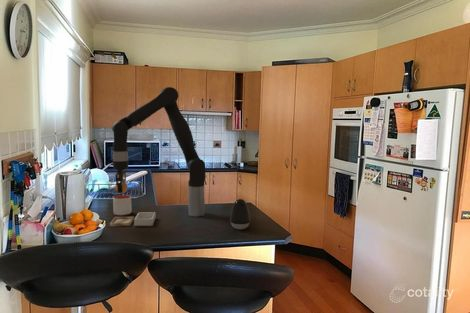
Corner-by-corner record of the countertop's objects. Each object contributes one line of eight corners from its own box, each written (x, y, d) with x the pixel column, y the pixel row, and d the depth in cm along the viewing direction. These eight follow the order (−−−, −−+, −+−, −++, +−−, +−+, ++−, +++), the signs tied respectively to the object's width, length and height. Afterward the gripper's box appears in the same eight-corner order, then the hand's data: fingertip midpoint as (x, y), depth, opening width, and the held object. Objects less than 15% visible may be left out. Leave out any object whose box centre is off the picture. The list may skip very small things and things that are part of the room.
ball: (128, 192, 178) (128, 181, 177) (126, 194, 172) (125, 183, 172) (116, 192, 177) (116, 181, 177) (114, 194, 171) (113, 183, 171)
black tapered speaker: (233, 232, 163) (233, 201, 161) (227, 225, 173) (228, 197, 171) (252, 230, 166) (253, 200, 164) (246, 224, 176) (246, 196, 174)
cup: (126, 216, 188) (125, 199, 187) (110, 215, 190) (109, 198, 189) (134, 212, 198) (134, 195, 197) (119, 211, 200) (119, 194, 199)
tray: (133, 219, 183) (133, 216, 183) (129, 225, 171) (129, 223, 171) (115, 219, 182) (115, 217, 182) (109, 226, 170) (109, 223, 170)
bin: (155, 218, 185) (155, 212, 185) (152, 225, 172) (152, 219, 171) (138, 218, 184) (138, 212, 184) (134, 226, 171) (134, 219, 170)
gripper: (125, 161, 166) (125, 194, 168) (130, 158, 180) (131, 188, 182) (109, 161, 165) (110, 194, 167) (116, 158, 180) (117, 188, 181)
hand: (121, 191), depth 175 cm, fingers closed on ball, 6 cm apart
